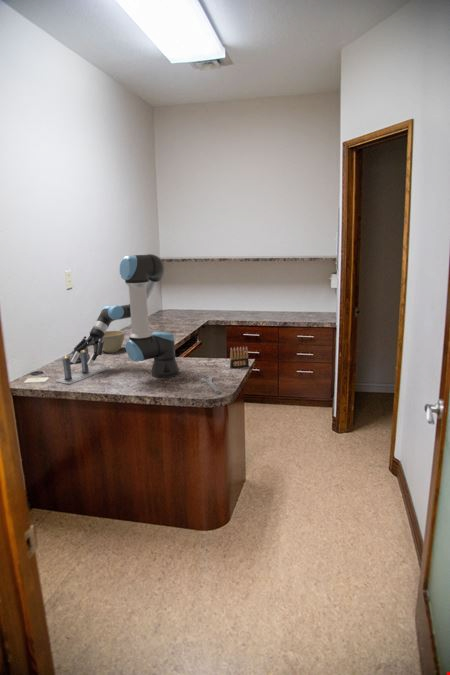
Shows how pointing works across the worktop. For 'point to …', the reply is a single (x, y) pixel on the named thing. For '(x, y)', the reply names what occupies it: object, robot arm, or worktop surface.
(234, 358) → the ammunition clip
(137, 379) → the worktop surface
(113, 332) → the flower pot
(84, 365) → the leg
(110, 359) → the worktop surface
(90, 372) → the bolt plate
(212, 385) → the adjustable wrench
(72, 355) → the mineral rock
